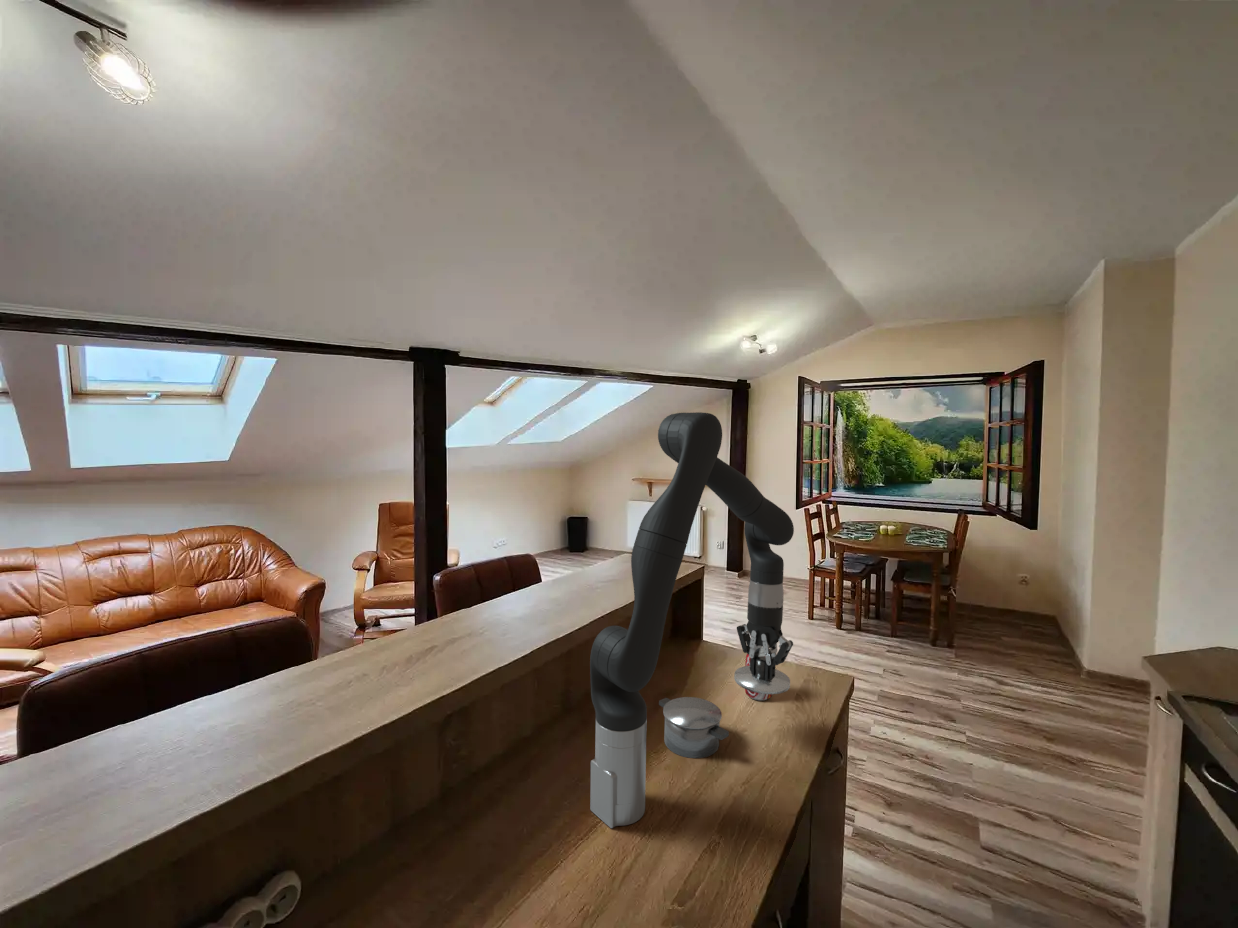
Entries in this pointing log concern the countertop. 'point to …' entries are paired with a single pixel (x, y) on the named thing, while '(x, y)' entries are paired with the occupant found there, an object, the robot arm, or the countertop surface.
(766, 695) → the soda can
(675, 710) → the pot
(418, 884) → the countertop surface
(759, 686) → the lid
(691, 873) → the countertop surface
